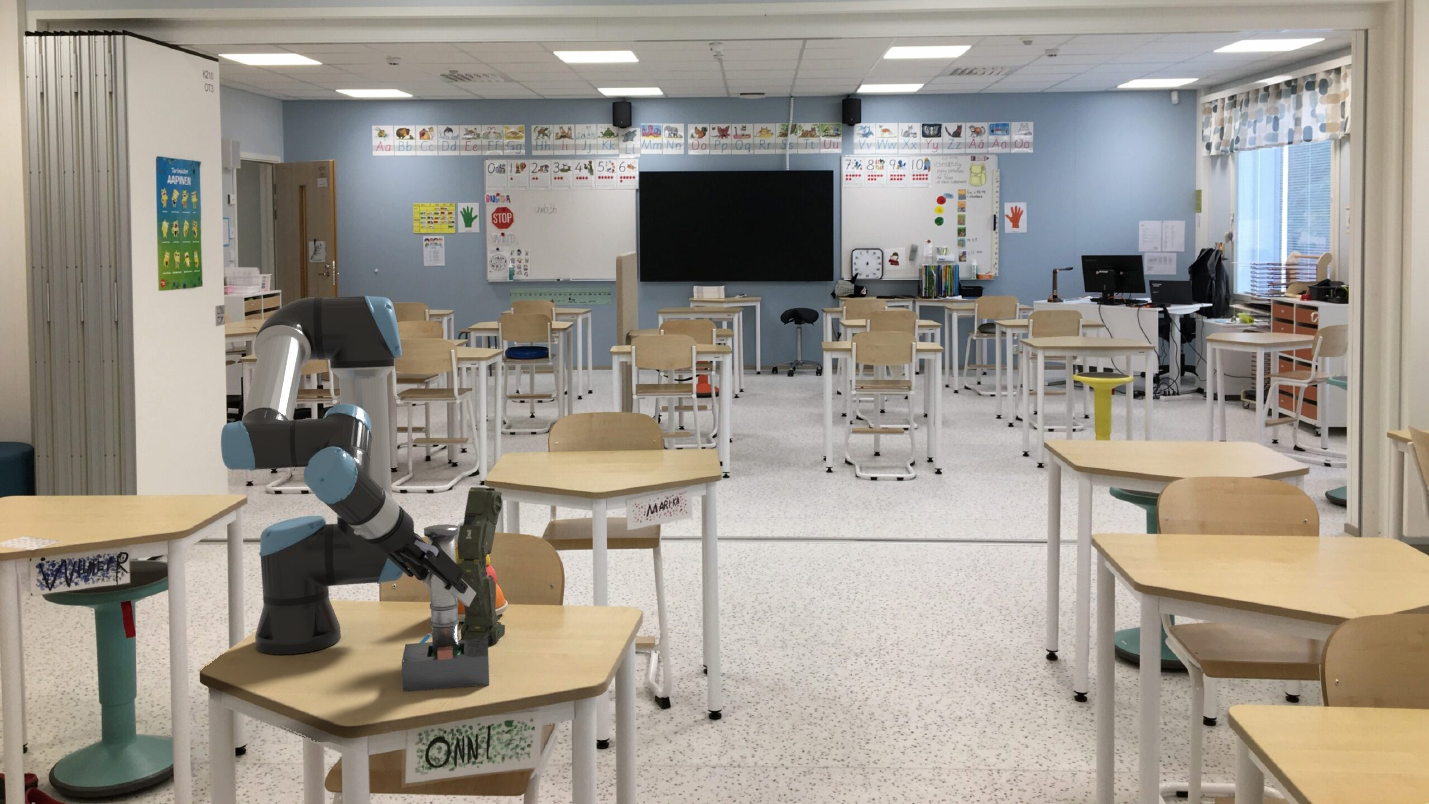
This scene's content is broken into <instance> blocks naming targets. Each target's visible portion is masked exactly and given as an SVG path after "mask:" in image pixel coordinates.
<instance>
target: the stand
mask: <svg viewBox="0 0 1429 804" xmlns="http://www.w3.org/2000/svg"><path fill="white" fill-rule="evenodd" d="M459 650H460V651H461V654H459V655H453V646H450V647H438V650H437V653H438V656H433V657H431V654H432V653H433V645H432V641H429V642H428V641H426V642H425V643H420V642H416V643H405V644H404V649H403V653H402V658H401V682H402V693H407V692H409V693H410V692H418V691H419V692H420V691H421V692H422V691H434V690H443V689H444V690H445V689H458V688H469V687H481V686H482V687H483V686H484V687H485V686H490V664H489V647H488V638H480V639H467V640H460V639H459Z"/></svg>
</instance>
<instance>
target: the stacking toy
mask: <svg viewBox="0 0 1429 804" xmlns="http://www.w3.org/2000/svg"><path fill="white" fill-rule="evenodd" d="M463 524H464V520H462V521H461V522H459V523H458V524H457V526H458V534H457V535H455V542H456V543H457V542H458V536H459V530H460V526H462V525H463ZM455 553H456V564H457V561H458V546H455ZM463 560H464V559H463ZM486 572H487V576H486V577H489V575H491V576H492V577H493V578H494V582H495V584H496V606H495V611H496V614H497V617H499V615H501V614H503V613H504V612H505V611H506V610H507V608H508V604H509V603H508V601H507V600H506V599H505V597H504V593H503V591H502V589H501V588H500V586H499V585H498V584H497V583H498V575H497V574H496V573H497V572H496V571H495V569H494V568H493V566H492V565H491V557H490V554H487V557H486ZM457 601H458V619H459V622H460V623H461V622H463V623H465V607H464V604H463V603H462V602H461V601H460V600H459V599H458V598H457Z"/></svg>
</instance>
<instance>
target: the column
mask: <svg viewBox="0 0 1429 804" xmlns="http://www.w3.org/2000/svg"><path fill="white" fill-rule="evenodd" d="M457 534H458V525H456V524H449V523H448V524H444V523H443V524H436V525H435V524H433V525H429V526H428V525H427V526H426V527H424V528H423V535H424V537H426V538H427V542H428V543H427V544H429V545H431V544H432V542H433V541H435V542H437V543H438V544H439V545H440V547H441V548H442V550H443V551H444V552H445V553H446V554H447V555H448V556H449V557H450V558H451V559H452V560H453V561H454V562H455V563H456V553H455V548H456V540H455V535H457ZM428 571H429V570H428ZM429 573H430V588H429V593H430V594H429V595H430V603H429V609H430V618H431V619H430V627H431V632H432V635H431V642H432V645H433V653H432V654H431V657H433V656H438V653H437V650H438V647H450V646H453V655H459V654H461V651H460V650H459V640H460V635H459V634H460V631H459V625H460V621H459V619H458V601H457V597H456V596H455V595H454V594H453V593H452V592H450V591H449V590H447V589H445V585H446V583H444V582H443V581H442V580H441V579H439V578H438V577H437V576H435V575H434V574H433V573H432V572H430V571H429Z"/></svg>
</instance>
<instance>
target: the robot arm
mask: <svg viewBox="0 0 1429 804" xmlns="http://www.w3.org/2000/svg"><path fill="white" fill-rule="evenodd" d="M399 331H400V330H399V326H398V321H397V316H396V311H395V307H394V304H393V302H392V300H390V299H389V298H387V297H384V296H373V295H369V296H368V295H363V296H362V295H361V296H331V297H330V296H327V297H324V296H323V297H314V296H312V297H304V298H299V299H297V300H294V301H291V302H289V303H287V304H285V305H283V306H282V307H280V308H279V309H277V310H276V311H275V312H273V313H272V314H271V315H270V316H269V317H268V318H267V319H266V320H265V321H264V322H263V323H262V325H261V326H260V328H259V329H258V331H257V334H256V336H255V341H254V345H253V346H254V347H253V351H254V356H255V357H256V362H255V366H254V370H253V374H252V378H251V383H250V386H249V391H248V394H247V399H246V403H245V406H244V411H243V415H242V419H241V420H238V421H235V422H228V423H227V424H224V425H223V427H222V430H221V434H220V448H221V449H220V451H221V458H222V462H223V464H224V466H225V467H226V468H227V469H228V470H233V471H234V470H237V471H239V470H242V471H244V470H247V471H250V472H251V471H256V470H272V469H273V470H274V469H287V468H289V469H290V468H304V469H303V480H304V484H305V485H306V486H307V487H308V488H309V489H310V491H312V492H313V494H314V495H315V497H316V498H317V499H318V500H319V501H321V502H323V503H324V504H325V505H326V506H327V507H329V509H331V510H332V511H333V512H334V513H335V514H336V520H337V522H336V523H327V520H326V518H325V517H324V516H322V515H307V516H305V515H304V516H300V517H295V518H290V519H285V520H282V521H278V522H276V523H272V524H271V525H269V526H267V527H266V528H264V529H263V531H262V532H261V534H260V541H259V542H260V547H259V548H260V549H259V553H258V554H259V557H260V565H261V566H260V567H261V583H262V584H261V585H262V599H263V601H262V602H263V604H262V605H263V606H262V610H261V613H260V618H259V621H258V625H257V627H256V631H255V636H254V637H255V648H256V650H257V651H259V652H261V653H265V654H271V655H296V654H303V653H310V652H315V651H319V650H322V649H326V648H329V647H331V646H333V645H335V644H336V643H338V642H340V640H341V638H342V637H341V635H342V634H341V633H342V632H341V624H340V622H339V619H338V617H337V614H336V612H335V609H334V608H333V605H332V602H331V600H330V593H329V592H330V590H329V589H330V588H329V587H335V586H349V585H359V584H360V585H363V584H376V585H377V584H378V585H379V584H381V583H387V582H395V581H398V580H400V579H401V578H402V577H403V575H404V574H405V575H406V576H407V577H409V578H413V577H414V578H415V579H416V580H418V581H422V582H423V583H424V584H425V585H426V586H427V587H428V588H429V589H430V573H429V571H430V572H432V573H433V574H434V575H435V576H437V577H438V578H439V579H441V580H442V581H443V582H444V583H446V585H445V589H447V590H449V591H450V592H452V593H453V594H454V595H455V596H456V597H457V598H458V599H459V600H460V601H461V602H462V603H463V604H464V605H465V606H468V607H469V606H470V604H471V602H472V600H473V598H474V597H475V595H476V592H475V591H474V590H473V589H472V588H471V587H470V586H469V585H468V584H467V583H466V582H465V581H464V580H463V579H462V577H463V575H464V573H465V572H464V571H463V570H462V569H461V568H460V567H459V566H458V565H457V564H456V563H455V562H454V561H453V560H452V559H451V558H450V557H449V556H448V555H447V554H446V553H445V552H444V551H443V550H442V548H441V547H440V545H439V544H438V543H437V542H435V541H433V542H432V544H431V545H429V544H428V543H427V542H425V540H424V539H423V538H422V537H421V536H420V535H419V534H418V533H416V532H415V522H414V519H413V518H412V516H411V515H410V514H409V513H408V512H407V511H406V510H405V509H404V508H403V507H402V506H401V505H399V503H398V502H397V501H396V500H395V499H394V498H393V492H392V491H393V490H392V469H391V468H392V467H391V448H390V447H391V445H390V444H391V443H390V423H389V422H390V421H389V419H390V418H389V401H388V377H389V374H391V372H392V371H393V370H394V369H395V367H396V366H395V363H396V362H395V359H399V358H401V357H403V351H402V344H401V336H400V332H399ZM312 360H313V361H314V360H318V361H323V360H325V361H327V360H328V361H329V367H330V371H331V372H332V373H334V374H335V375H336V377H338V380H339V385H338V386H339V401H340V402H339V403H340V404H337V405H336V406H335V405H334V406H333V407H330V408H328V409H327V411H326V412H325V414H324V415H323V417H322V418H309V419H308V418H307V419H306V418H305V419H294V414H295V410H296V403H297V397H298V393H299V385H300V380H301V377H302V370H303V367H305V365H307V363H308V362H309V361H312Z"/></svg>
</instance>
